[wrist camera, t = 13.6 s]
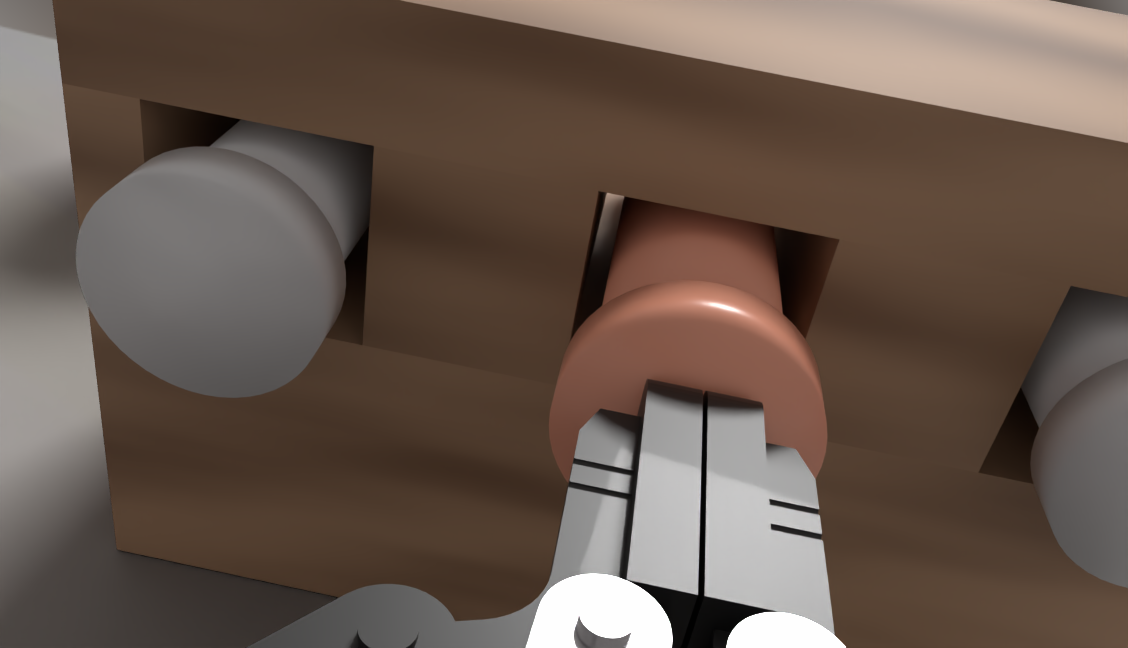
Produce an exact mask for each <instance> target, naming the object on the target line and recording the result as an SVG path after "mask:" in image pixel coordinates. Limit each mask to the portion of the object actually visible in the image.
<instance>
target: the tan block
mask: <svg viewBox="0 0 1128 648" xmlns="http://www.w3.org/2000/svg"><path fill="white" fill-rule="evenodd" d="M53 9H54V17H55V26H56V35H57V43H58V52H59V60H60V69H61V77H62V86H63V95H64V103H65V112H66V120H67V129H68V137H69V146H70V154H71V163H72V171H73V180H74V188H75V197H76V206H77V214H78V223H79V231H80V227H81V225H82V223H83V221H84V219H85V217H86V214H87V213H88V212H89V210H90V209H91V208H92V206H93V205H94V203H95V202H96V201H98V200H99V199H100V198H101V197H102V196H103V195H104V194H105V193H106V192H107V191H109V190H110V189H111V188H113V187H114V186H115V185H116V184H118V183H119V182H120V181H122V180H123V179H124V178H125V177H127V176H128V175H129V174H131V173H132V172H133V171H134V170H136V169H137V168H138V167H140V166H141V165H142V164H144V163H145V162H147V161H148V160H150V159H151V158H153V157H155V156H158V155H160V154H162V153H164V152H168V151H171V150H175V149H178V148H186V147H209V146H211V145H212V144H213V143H214V142H215V141H216V140H218V139H219V138H220V137H221V136H222V135H223V134H225V133H226V132H227V131H228V130H229V129H231V128H232V127H233V126H234V125H235V124H236V123H238V122H239V121H240V120H241V119H242V120H247V121H252V122H257V123H262V124H267V125H272V126H277V127H282V128H287V129H292V130H297V131H302V132H307V133H312V134H317V135H322V136H327V137H332V138H337V139H342V140H347V141H352V142H357V143H362V144H367V145H372V146H374V153H373V170H372V188H371V205H370V223H369V226H368V228H367V229H366V231H365V232H364V234H363V235H362V237H361V238H360V239H359V241H358V242H357V244H356V245H355V247H354V248H353V250H352V251H351V253H350V254H349V255H348V257H347V258H346V260H345V261H344V264H345V270H346V289H345V298H344V301H343V305H342V308H341V311H340V313H339V315H338V317H337V319H336V321H335V323H334V325H333V326H332V328H331V329H330V331H329V333H328V334H327V336H326V337H325V339H324V340H323V342H322V344H321V345H320V347H319V348H318V350H317V351H316V353H315V355H314V356H313V358H312V359H311V361H310V362H309V363H308V365H307V366H306V368H305V369H304V370H303V371H302V372H301V373H300V374H299V375H298V376H297V377H295V378H294V379H293V380H291V381H290V382H288V383H287V384H285V385H283V386H281V387H279V388H277V389H276V390H273V391H270V392H267V393H264V394H261V395H255V396H250V397H239V398H226V397H215V396H209V395H203V394H199V393H195V392H192V391H188V390H185V389H183V388H180V387H177V386H175V385H172V384H170V383H168V382H166V381H164V380H162V379H160V378H158V377H157V376H155V375H153V374H152V373H150V372H148V371H147V370H145V369H144V368H142V367H141V366H140V365H138V364H137V363H135V362H134V361H133V360H131V359H130V358H129V357H128V356H127V355H126V354H125V353H124V352H122V351H121V350H120V349H119V348H118V347H117V346H116V345H115V344H114V342H113V341H112V340H111V339H110V338H109V337H108V336H107V334H106V333H105V332H104V331H103V329H102V328H101V327H100V325H99V324H98V322H97V321H96V319H95V317H94V316H93V314H92V312H91V311H90V309H89V317H90V325H91V334H92V342H93V351H94V359H95V368H96V376H97V385H98V393H99V402H100V411H101V419H102V428H103V436H104V445H105V453H106V462H107V470H108V479H109V487H110V496H111V505H112V513H113V522H114V530H115V539H116V547H117V550H121V551H126V552H131V553H135V554H140V555H145V556H149V557H154V558H159V559H163V560H168V561H173V562H177V563H182V564H186V565H191V566H196V567H200V568H205V569H210V570H214V571H219V572H224V573H228V574H233V575H238V576H242V577H247V578H252V579H256V580H261V581H266V582H270V583H275V584H279V585H284V586H289V587H293V588H298V589H303V590H307V591H312V592H317V593H321V594H326V595H331V596H335V597H341V596H343V595H345V594H347V593H349V592H352V591H354V590H356V589H359V588H363V587H366V586H371V585H377V584H397V585H405V586H409V587H413V588H416V589H419V590H421V591H424V592H426V593H428V594H429V595H431V596H433V597H434V598H436V599H437V600H438V601H440V602H441V603H442V604H443V605H444V606H445V607H446V608H447V609H448V611H449V612H450V613H451V614H452V616H453V618H454V620H455V621H468V620H483V619H492V618H498V617H502V616H506V615H509V614H512V613H514V612H517V611H519V610H521V609H523V608H524V607H526V606H528V605H529V604H531V603H532V602H533V601H534V600H535V599H536V598H538V597H539V595H540V594H541V593H542V592H543V590H544V589H545V587H546V585H547V584H548V581H549V576H550V571H551V566H552V561H553V556H554V551H555V546H556V541H557V536H558V531H559V526H560V521H561V516H562V511H563V506H564V501H565V497H566V492H567V487H568V482H567V481H566V479H565V478H564V476H563V474H562V473H561V471H560V469H559V467H558V465H557V463H556V460H555V457H554V455H553V452H552V447H551V443H550V438H549V417H550V409H551V405H552V401H553V397H554V392H555V388H556V384H557V380H558V376H559V372H560V368H561V364H562V361H563V357H564V354H565V351H566V349H567V347H568V345H569V343H570V341H571V339H572V338H573V336H574V334H575V333H576V331H577V330H578V328H579V327H580V326H581V325H582V324H583V323H584V322H585V320H586V319H587V318H588V317H589V316H590V315H592V314H593V313H594V312H595V311H596V310H597V309H599V308H600V307H601V306H602V304H603V299H604V294H605V289H606V284H607V279H608V274H609V269H610V264H611V259H612V254H613V249H614V244H615V239H616V234H617V229H618V224H619V219H620V214H621V209H622V204H623V199H624V196H626V197H631V198H635V199H640V200H645V201H650V202H655V203H660V204H665V205H670V206H675V207H680V208H685V209H690V210H695V211H700V212H705V213H710V214H715V215H720V216H725V217H730V218H735V219H740V220H745V221H750V222H755V223H760V224H765V225H770V226H774V234H775V243H776V253H777V263H778V272H779V282H780V291H781V301H782V311H783V315H784V316H785V317H787V318H788V319H789V320H790V321H791V322H792V323H793V324H794V325H795V327H796V328H797V329H798V330H799V332H800V333H801V334H802V335H803V337H804V338H805V340H806V342H807V343H808V345H809V347H810V348H811V350H812V353H813V355H814V358H815V360H816V363H817V366H818V371H819V376H820V381H821V388H822V394H823V401H824V408H825V414H826V421H827V446H826V453H825V457H824V460H823V464H822V467H821V469H820V471H819V473H818V475H817V477H816V479H815V480H816V488H817V496H818V504H819V512H818V515H820V520H821V528H822V537H821V540H822V541H823V544H824V552H825V560H826V568H827V576H828V584H829V592H830V601H831V609H832V617H833V625H834V632H835V637H836V638H837V639H838V640H839V641H840V642H841V643H842V644H843V645H844V646H845V647H846V648H1128V588H1126V587H1122V586H1118V585H1115V584H1112V583H1109V582H1107V581H1104V580H1102V579H1099V578H1098V577H1096V576H1094V575H1092V574H1090V573H1088V572H1087V571H1085V570H1084V569H1082V568H1081V567H1080V566H1078V565H1077V564H1076V563H1075V562H1073V561H1072V560H1071V559H1070V558H1069V557H1068V556H1067V555H1066V553H1065V552H1064V551H1063V549H1062V548H1061V547H1060V545H1059V544H1058V542H1057V540H1056V538H1055V536H1054V534H1053V531H1052V529H1051V526H1050V524H1049V521H1048V519H1047V517H1046V514H1045V512H1044V509H1043V507H1042V504H1041V502H1040V499H1039V497H1038V494H1037V492H1036V489H1035V487H1034V483H1033V480H1032V476H1031V466H1030V462H1031V451H1032V447H1033V443H1034V439H1035V437H1036V435H1037V432H1038V430H1039V427H1038V424H1037V422H1036V420H1035V418H1034V415H1033V413H1032V411H1031V409H1030V406H1029V404H1028V402H1027V400H1026V397H1025V395H1024V393H1023V391H1022V388H1021V385H1022V383H1023V381H1024V379H1025V377H1026V375H1027V373H1028V371H1029V369H1030V367H1031V365H1032V363H1033V361H1034V359H1035V357H1036V355H1037V353H1038V351H1039V349H1040V347H1041V345H1042V343H1043V341H1044V339H1045V337H1046V335H1047V333H1048V331H1049V329H1050V327H1051V325H1052V323H1053V321H1054V319H1055V317H1056V315H1057V313H1058V311H1059V309H1060V307H1061V305H1062V303H1063V301H1064V299H1065V297H1066V295H1067V293H1068V291H1069V289H1070V287H1071V286H1074V287H1079V288H1084V289H1089V290H1094V291H1099V292H1104V293H1109V294H1114V295H1119V296H1124V297H1128V16H1127V15H1122V14H1117V13H1111V12H1107V11H1101V10H1096V9H1091V8H1086V7H1081V6H1075V5H1070V4H1065V3H1060V2H1055V1H1049V0H53ZM88 308H89V307H88Z"/></svg>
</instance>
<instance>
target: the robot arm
mask: <svg viewBox="0 0 1128 648" xmlns="http://www.w3.org/2000/svg"><path fill="white" fill-rule="evenodd" d="M818 512H819V504H818V496H817V488H816V480H815V478H814V476H813V474H812V473H811V471H810V470H809V468H808V467H807V465H806V464H805V462H804V461H803V459H802V458H801V456H800V454H799V453H798V451H797V450H796V449H794V448H790V447H785V446H780V445H775V444H770V443H766V440H765V425H764V409H763V404H762V402H759V401H754V400H749V399H745V398H740V397H735V396H730V395H725V394H720V393H716V392H711V391H705V393H704V395H703V391H702V390H700V389H695V388H690V387H686V386H681V385H676V384H671V383H666V382H661V381H657V380H652V379H647V380H646V383H645V386H644V390H643V394H642V398H641V402H640V406H639V410H638V414H637V416H635V415H630V414H625V413H621V412H616V411H611V410H606V409H601V408H600V409H599V410H598V411H597V412H596V413H595V414H594V415H593V417H592V418H591V419H590V420H589V421H588V422H587V423H586V424H585V425H584V426H583V427H582V428H581V429H580V430H579V435H578V440H577V444H576V449H575V454H574V459H573V463H572V468H571V473H570V478H569V482H568V487H567V492H566V497H565V501H564V506H563V511H562V516H561V521H560V526H559V531H558V536H557V541H556V546H555V551H554V556H553V561H552V566H551V571H550V576H549V581H548V584H547V585H546V587H545V589H544V590H543V592H542V593H541V594H540V595H539V597H538V598H536V599H535V600H534V601H533V602H532V603H531V604H529V605H528V606H526V607H524V608H523V609H521V610H519V611H517V612H514V613H512V614H509V615H506V616H502V617H498V618H492V619H483V620H468V621H455V620H454V618H453V616H452V614H451V613H450V612H449V611H448V609H447V608H446V607H445V606H444V605H443V604H442V603H441V602H440V601H438V600H437V599H436V598H434V597H433V596H431V595H429V594H428V593H426V592H424V591H421V590H419V589H416V588H413V587H409V586H405V585H397V584H377V585H371V586H366V587H363V588H359V589H356V590H354V591H352V592H349V593H347V594H345V595H343V596H341V597H339V598H338V599H336V600H334V601H332V602H330V603H328V604H326V605H325V606H323V607H321V608H319V609H317V610H315V611H313V612H312V613H310V614H308V615H306V616H304V617H302V618H300V619H299V620H297V621H295V622H293V623H291V624H289V625H287V626H285V627H284V628H282V629H280V630H278V631H276V632H274V633H272V634H271V635H269V636H267V637H265V638H263V639H261V640H259V641H258V642H256V643H254V644H252V645H250V646H248V647H246V648H846V647H845V646H844V645H843V644H842V643H841V642H840V641H839V640H838V639H837V638H836V637H835V632H834V625H833V617H832V609H831V601H830V592H829V584H828V576H827V568H826V560H825V552H824V544H823V541H822V540H821V537H822V528H821V520H820V515H818Z"/></svg>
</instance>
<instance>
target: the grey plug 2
mask: <svg viewBox="0 0 1128 648" xmlns="http://www.w3.org/2000/svg"><path fill="white" fill-rule="evenodd" d="M1021 388H1022V391H1023V393H1024V395H1025V397H1026V400H1027V402H1028V404H1029V406H1030V409H1031V411H1032V413H1033V415H1034V418H1035V420H1036V422H1037V424H1038V427H1039V430H1038V432H1037V435H1036V437H1035V439H1034V443H1033V447H1032V451H1031V462H1030V466H1031V476H1032V480H1033V483H1034V487H1035V489H1036V492H1037V494H1038V497H1039V499H1040V502H1041V504H1042V507H1043V509H1044V512H1045V514H1046V517H1047V519H1048V521H1049V524H1050V526H1051V529H1052V531H1053V534H1054V536H1055V538H1056V540H1057V542H1058V544H1059V545H1060V547H1061V548H1062V549H1063V551H1064V552H1065V553H1066V555H1067V556H1068V557H1069V558H1070V559H1071V560H1072V561H1073V562H1075V563H1076V564H1077V565H1078V566H1080V567H1081V568H1082V569H1084V570H1085V571H1087V572H1088V573H1090V574H1092V575H1094V576H1096V577H1098V578H1099V579H1102V580H1104V581H1107V582H1109V583H1112V584H1115V585H1118V586H1122V587H1126V588H1128V297H1124V296H1119V295H1114V294H1109V293H1104V292H1099V291H1094V290H1089V289H1084V288H1079V287H1074V286H1071V287H1070V289H1069V291H1068V293H1067V295H1066V297H1065V299H1064V301H1063V303H1062V305H1061V307H1060V309H1059V311H1058V313H1057V315H1056V317H1055V319H1054V321H1053V323H1052V325H1051V327H1050V329H1049V331H1048V333H1047V335H1046V337H1045V339H1044V341H1043V343H1042V345H1041V347H1040V349H1039V351H1038V353H1037V355H1036V357H1035V359H1034V361H1033V363H1032V365H1031V367H1030V369H1029V371H1028V373H1027V375H1026V377H1025V379H1024V381H1023V383H1022V385H1021Z"/></svg>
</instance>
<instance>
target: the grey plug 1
mask: <svg viewBox="0 0 1128 648" xmlns="http://www.w3.org/2000/svg"><path fill="white" fill-rule="evenodd" d="M373 153H374V146H372V145H367V144H362V143H357V142H352V141H347V140H342V139H337V138H332V137H327V136H322V135H317V134H312V133H307V132H302V131H297V130H292V129H287V128H282V127H277V126H272V125H267V124H262V123H257V122H252V121H247V120H242V119H241V120H240V121H239V122H238V123H236V124H235V125H234V126H233V127H232V128H231V129H229V130H228V131H227V132H226V133H225V134H223V135H222V136H221V137H220V138H219V139H218V140H216V141H215V142H214V143H213V144H212V145H211V146H209V147H186V148H178V149H175V150H171V151H168V152H164V153H162V154H160V155H158V156H155V157H153V158H151V159H150V160H148V161H147V162H145V163H144V164H142V165H141V166H140V167H138V168H137V169H136V170H134V171H133V172H132V173H131V174H129V175H128V176H127V177H125V178H124V179H123V180H122V181H120V182H119V183H118V184H116V185H115V186H114V187H113V188H111V189H110V190H109V191H107V192H106V193H105V194H104V195H103V196H102V197H101V198H100V199H99V200H98V201H96V202H95V203H94V205H93V206H92V208H91V209H90V210H89V212H88V213H87V214H86V217H85V219H84V221H83V223H82V225H81V227H80V231H79V235H78V238H77V245H76V269H77V274H78V279H79V283H80V287H81V290H82V293H83V296H84V298H85V300H86V302H87V304H88V307H89V309H90V311H91V312H92V314H93V316H94V317H95V319H96V321H97V322H98V324H99V325H100V327H101V328H102V329H103V331H104V332H105V333H106V334H107V336H108V337H109V338H110V339H111V340H112V341H113V342H114V344H115V345H116V346H117V347H118V348H119V349H120V350H121V351H122V352H124V353H125V354H126V355H127V356H128V357H129V358H130V359H131V360H133V361H134V362H135V363H137V364H138V365H140V366H141V367H142V368H144V369H145V370H147V371H148V372H150V373H152V374H153V375H155V376H157V377H158V378H160V379H162V380H164V381H166V382H168V383H170V384H172V385H175V386H177V387H180V388H183V389H185V390H188V391H192V392H195V393H199V394H203V395H209V396H215V397H226V398H239V397H250V396H255V395H261V394H264V393H267V392H270V391H273V390H276V389H277V388H279V387H281V386H283V385H285V384H287V383H288V382H290V381H291V380H293V379H294V378H295V377H297V376H298V375H299V374H300V373H301V372H302V371H303V370H304V369H305V368H306V366H307V365H308V363H309V362H310V361H311V359H312V358H313V356H314V355H315V353H316V351H317V350H318V348H319V347H320V345H321V344H322V342H323V340H324V339H325V337H326V336H327V334H328V333H329V331H330V329H331V328H332V326H333V325H334V323H335V321H336V319H337V317H338V315H339V313H340V311H341V308H342V305H343V301H344V298H345V289H346V270H345V264H344V261H345V260H346V258H347V257H348V255H349V254H350V253H351V251H352V250H353V248H354V247H355V245H356V244H357V242H358V241H359V239H360V238H361V237H362V235H363V234H364V232H365V231H366V229H367V228H368V226H369V223H370V205H371V188H372V170H373Z"/></svg>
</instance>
